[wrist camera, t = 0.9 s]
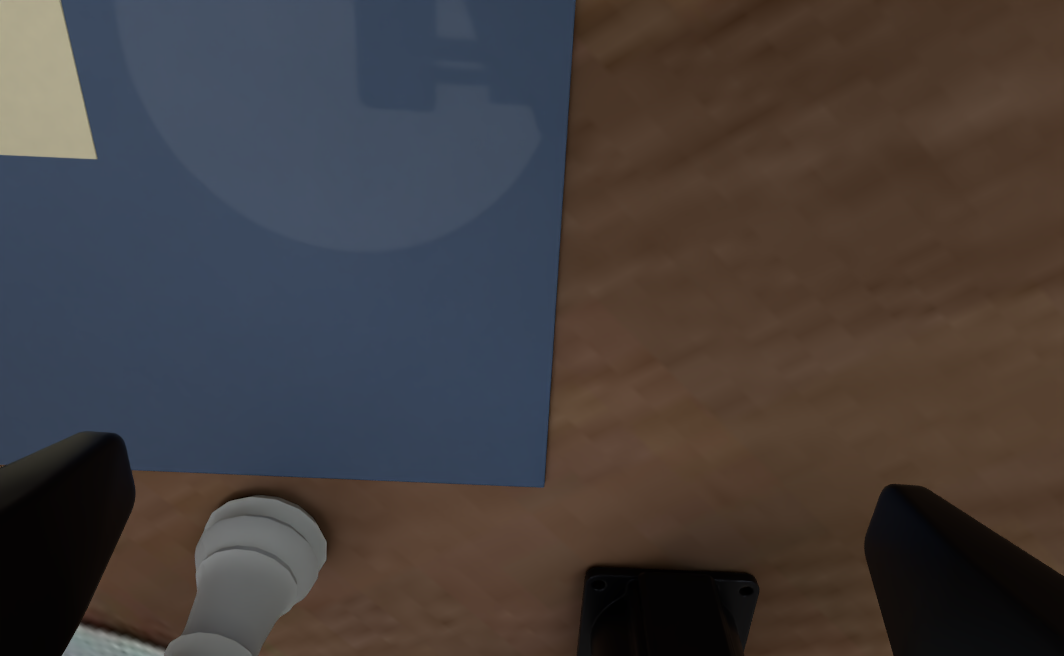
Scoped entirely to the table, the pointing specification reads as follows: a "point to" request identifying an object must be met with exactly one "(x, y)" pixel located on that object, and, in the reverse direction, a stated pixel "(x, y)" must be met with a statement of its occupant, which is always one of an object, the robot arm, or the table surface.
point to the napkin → (284, 233)
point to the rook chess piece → (249, 575)
